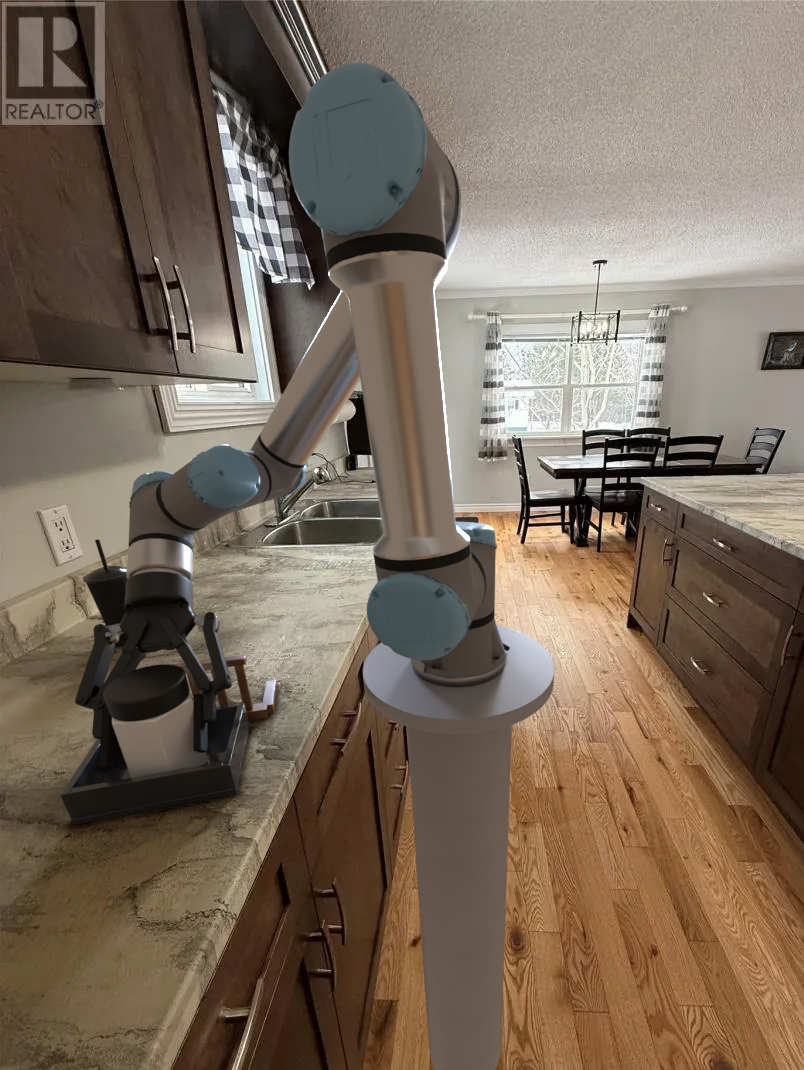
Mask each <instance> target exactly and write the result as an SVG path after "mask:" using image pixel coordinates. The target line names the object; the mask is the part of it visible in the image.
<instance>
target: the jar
mask: <svg viewBox="0 0 804 1070" xmlns="http://www.w3.org/2000/svg"><path fill="white" fill-rule="evenodd" d="M103 696H104V699H105V705H106V708H108V711H109V713H110V716H111V717H112V725H113V728H114V731H115V734H116V737H117V739H118V742H119V745H120V748H121V751H122V754H123V756H124V759H125V762H126V765H127V768H128V770H129V773H130V776H131V778H133V777H138V776H144V775H150V774H155V773H161V772H166V771H172V770H178V769H183V768H189V767H194V766H200V765H204V764H206V763H207V762H208V758H207V754H206V752H205V753H199V752H196V751H194V701H193V699H192V695H191V688H190V684H189V680H188V677H187V673H185V671H184V670H183V669H182V668H181V667H179V666H176V665H172V664H168V663H167V664H166V663H161V664H153V665H147V666H144V667H139V668H136V670H133V671H131V672H128V673H126V674H124V675H122V676H120V677H118V678H117V679H115V680H114V681H112V682H111V683H110V684H109V685H108V686H107V687H106V688H105V690H104V693H103Z"/></svg>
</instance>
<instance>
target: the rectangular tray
mask: <svg viewBox="0 0 804 1070" xmlns="http://www.w3.org/2000/svg"><path fill="white" fill-rule="evenodd" d="M250 730H251V726H250V721H248V716H247V712H246V707H245V703H244V702H243V703H242V702H237V703H231V704H230V703H229V705H224V706H219V705H216V719H215V721H213V722H207V734H208V752H206V754H207V758H208V762H207V763H206V764H204V765H200V766H194V767H189V768H183V769H178V770H172V771H166V772H161V773H155V774H150V775H144V776H138V777H133V778H131V776H130V773H129V770H128V768H127V765H126V762H125V759H124V756H123V754H122V751H121V748H120V745H119V752H118V767H117V768H111V769H109V768H103V767H98V765H99V751H100V739H97V738H96V740H95V741H94V743H93V744H92V746H91V747H90V749H89V751H87V754H86V755H85V756H84V758H83V760H82V761H81V762H80V764H79V766H78V767H77V769H76V770H75V772H74V774H73V775H72V776H71V778H70V780H69V781H68V783H66V786H65V787H64V788H63V790H62V791H61V793H60V798H61V800H62V803H63V804H64V807H65V808H66V811H67V813H68V816H69V818H70V820H71V823H72V825H73V826H77V825H82V824H86V823H87V824H88V823H92V822H97V821H103V820H107V819H114V818H119V817H124V816H128V815H133V814H139V813H143V812H149V811H155V810H158V809H164V808H165V809H166V808H170V807H174V806H180V805H184V804H189V803H195V802H196V803H197V802H200V801H206V800H210V799H211V800H212V799H216V798H220V797H227V796H232V795H237V794H238V790H239V784H240V780H241V775H242V770H243V765H244V760H245V755H246V750H247V746H248V745H247V744H248V741H249V735H250Z"/></svg>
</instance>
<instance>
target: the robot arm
mask: <svg viewBox="0 0 804 1070" xmlns="http://www.w3.org/2000/svg"><path fill="white" fill-rule="evenodd" d="M288 145H289V146H288V164H289V165H288V166H289V172H290V178H291V182H292V186H293V188H294V192H295V194H296V196H297V198H298V201H299V202H300V204H301V206H302V207H303V209H304V210H305V213H306V214H307V215H308V217H309V218H310V219H311V221H312V222H313V223H315V224H316V225H317V226H318V227H319V228H320V230H321V235H322V236H321V237H322V241H323V243H322V244H323V247H324V253H325V259H326V260H325V261H326V266H327V272H328V277H329V280H330V282H332V283H333V284H334V285H335V286H336V287H337V288H338V289H339V290H340V292H339V294H338V295H337V297H336V299H335V301H334V303H333V305H332V306H331V308H330V309H329V312H327V315H326V317H325V318H324V320H323V322H322V324H321V326H320V327H319V329H318V331H317V332H316V335H315V336H314V338H313V340H312V341H311V343H310V345H309V346H308V349H307V350H306V351H305V354H304V356H303V357H302V359H301V361H300V363H299V364H298V366H297V367H296V370H295V371H294V373H293V374H292V377H291V378H290V380H289V382H288V384H287V386H286V387H285V389H284V391H283V393H282V394H281V396H280V398H279V400H278V401H277V403H276V404H275V407H274V409H273V411H272V412H271V414H270V415H269V417H268V419H267V421H266V422H265V424H264V426H263V428H262V430H261V431H260V432H259V434H258V436H257V437H256V440H255V442H254V443H253V445H252V446H251V448H250V449H248V450H244V451H243V450H241V449H240V448H236V447H233V446H231V445H230V444H225V443H222V444H217V445H214V446H212V447H210V448H209V449H206V450H205V451H201V452H200V453H197V455H196V456H195V457H193V458H192V459H191V460H190V461H189V462H188V463H186V464H185V465H184V466H182V467H181V468H179V469H178V470H177V471H175V472H174V473H173V472H169V471H164V470H156V471H155V470H154V471H153V472H151V473H149V472H145V473H142V474H140V475H139V476H138V477H136V478H135V480H134V482H133V484H132V490H131V495H130V497H129V504H128V505H129V506H128V507H129V521H128V522H129V524H128V551H127V560H126V567H127V572H126V576H127V579H128V581H127V582H126V593H125V615H124V617H123V619H122V620H121V622H120V623H119V624H115V625H110V626H106V625H105V624H103V623H98V624H95V625H94V627H93V642H94V643H93V645H92V648H91V652H90V654H89V657H88V661H87V663H86V666H85V669H84V672H83V675H82V678H81V681H80V684H79V687H78V690H77V692H76V696H75V699H74V703H75V704H76V705H77V706H80V707H82V708H85V709H89V710H92V711H93V717H92V731H91V734H92V737H93V739H96V740H97V739H100V751H99V765H98V767H103V768H109V769H111V768H117V767H118V752H119V742H118V739H117V737H116V734H115V731H114V728H113V725H112V717H111V716H110V713H109V711H108V708H106V705H105V699H104V696H103V693H104V690H105V688H106V687H107V686H108V685H109V684H110V683H111V682H112V681H114V680H115V679H117V678H118V677H120V676H122V675H124V674H126V673H128V672H131V671H133V670H136V669H138V666H139V665H140V663H141V662H142V661H143V660H145V658H146V656H147V655H148V654H150V653H157V652H159V651H162V650H163V651H174V650H176V652H177V653H178V655H179V656H180V658H181V660H182V661H183V663H185V664H186V666H187V668H188V670H189V671H190V673H191V675H192V676H193V678H194V680H195V681H196V683H197V685H198V686H199V688H200V690H201V691H202V694H194V699H193V706H194V751H196V752H199V753H205V752H208V734H207V722H213V721H215V719H216V707H217V694H218V693H219V692H220V691H222V690H224V689H225V690H229V689H231V688H232V686H233V682H232V679H231V678H232V677H231V675H230V671H229V667H227V664H226V660H225V657H226V656H225V654H224V651H223V646H222V643H221V640H220V636H219V632H220V624H221V621H220V619H219V618H218V617H217V616H216V614H215V613H214V612H213V611H208V612H206V613H205V614H195V612H194V584H193V579H194V535H195V533H197V532H199V531H201V530H202V529H204V528H207V527H208V526H209V525H210V524H213V523H214V522H216V521H218V520H219V519H221V518H223V517H224V516H225V517H226V516H227V515H229V514H231V513H232V514H233V513H235V512H238V511H241V510H244V509H247V508H251V507H253V506H257V505H259V504H262V503H265V502H269V501H273V500H275V499H280V498H285V497H288V496H290V495H291V494H293V493H294V492H296V491H298V490H300V489H301V488H302V487H303V485H304V484H305V482H306V480H307V469H308V468H307V463H308V462H309V460H310V458H311V457H312V455H313V454H314V452H315V450H316V449H317V448H318V446H319V445H320V443H321V441H322V440H323V438H324V437H325V435H326V434H327V433H328V431H329V429H330V428H331V427H332V425H333V424H334V421H335V420H336V419H337V417H338V416H339V414H340V413H341V411H342V409H343V408H344V406H346V404H347V402H348V400H349V399H350V397H351V396H352V394H353V393H354V391H355V389H356V388H357V386H358V385H359V383H360V386H361V391H362V400H363V406H364V413H365V418H366V426H367V433H368V440H369V446H370V447H369V448H370V453H371V460H372V466H373V472H374V473H373V475H374V480H375V485H376V486H375V487H376V493H377V500H378V507H379V515H380V520H381V521H380V522H381V527H382V528H381V529H382V535H381V537H380V538H378V540H377V542H376V543H375V544H374V546H373V547H372V554H373V560H374V567H375V573H376V580H377V582H376V583H375V585H374V586H373V588H372V589H371V591H370V593H369V596H368V599H367V602H366V616H367V621H368V624H369V626H370V628H371V630H372V632H373V634H374V635H375V637H376V638H377V639H378V640H379V642H380V643H381V642H382V643H383V644H384V645H387V646H389V647H390V648H391V649H392V650H393V652H395V653H397V654H399V655H401V656H404V657H406V658H410V659H411V662H410V663H411V666H412V669H413V671H414V672H415V674H416V675H417V676H419V677H420V678H421V679H423V680H425V681H427V682H429V683H432V684H436V685H440V686H446V687H469V686H475V685H479V684H483V683H486V682H488V681H490V680H492V679H494V678H496V677H497V676H498V675H499V674H500V673H501V672H502V671H503V669H504V667H505V650H506V651H509V649H510V647H509V646H507V645H505V644H504V643H502V640H501V637H500V634H499V631H498V628H497V625H498V624H497V622H496V619H495V616H496V615H495V614H496V613H495V612H496V611H495V607H496V603H495V602H496V555H497V554H496V552H497V548H498V545H497V538H496V532H495V529H494V528H493V527H492V526H491V525H488V524H485V523H481V522H471V521H456V520H457V519H456V511H455V510H456V509H455V501H454V489H453V479H452V478H453V477H452V468H451V457H450V445H449V435H448V434H449V433H448V423H447V414H446V403H445V392H444V381H443V372H442V371H443V370H442V359H441V349H440V339H439V327H438V316H437V306H436V295H435V289H436V287H437V285H438V284H439V283H440V281H441V280H442V278H443V276H444V275H445V274H446V272H447V271H448V267H449V266H448V262H449V260H450V258H451V256H452V254H453V251H454V249H455V247H456V245H457V242H458V238H459V234H460V232H461V226H462V222H463V195H462V190H461V186H460V182H459V178H458V175H457V173H456V170H455V167H454V166H453V164H452V162H451V161H450V159H449V157H448V156H447V155H446V153H445V152H444V150H443V148H442V147H441V146H440V144H439V143H438V141H437V139H436V137H435V136H434V135H433V133H432V131H431V130H430V128H429V126H428V125H427V123H426V121H425V119H424V114H423V113H422V111H421V108H420V106H419V105H418V103H417V101H416V99H415V98H414V97H413V96H412V95H411V94H410V93H409V91H407V89H405V88H403V86H402V85H401V84H400V82H398V81H397V79H396V78H395V77H393V76H392V74H390V73H388V72H387V71H386V70H384V69H382V68H380V67H378V66H376V65H373V64H370V63H365V62H350V63H346V64H342V65H339V66H337V67H335V68H332V69H331V70H329V71H328V72H326V73H325V74H324V75H322V76H321V77H320V78H319V79H317V81H316V82H315V83H314V84H313V85H312V86H311V87H310V89H309V90H308V91H307V93H306V94H305V100H304V101H303V104H302V106H301V108H300V110H297V111H296V114H295V117H294V120H293V123H292V127H291V131H290V136H289V144H288ZM196 626H198V629H199V630H200V631H201V632H202V633H203V637H204V640H205V644H206V648H207V652H208V656H209V659H211V663H212V667H213V670H214V674H215V678H216V679H215V680H213V679H212V680H211V678H210V676H209V675H208V673H207V672H206V671H207V670H204V668H203V667H202V665H201V663H200V662H199V661H200V660H199V658H198V657H197V655H196V654H195V651H194V649H193V647H192V646H191V645H190V643H189V640H188V639H187V637H188V636H189V635H190V633H191V632H192V631H193V629H194V628H195V627H196ZM122 633H124V634H125V635H126V636H127V637H128V639H127V641H126V643H125V644H124V646H122V650H121V654H120V655H119V657H118V659H117V661H116V662H115V664H114V665H113V667H112V669H111V671H110V672H109V674H108V671H109V668H110V665H111V662H112V659H113V655H114V652H115V648H116V645H115V643H117V642H118V641H119V636H120V635H121V634H122ZM107 675H108V676H107Z"/></svg>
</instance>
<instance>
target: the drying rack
mask: <svg viewBox="0 0 804 1070" xmlns="http://www.w3.org/2000/svg"><path fill="white" fill-rule="evenodd" d="M224 657H225V660H226V664H227V667H228V668H232V667H234V671H235V676H236V681H237V685H238V689H239V693H240V698H241V703H243V702H244V703H245V707H246V712H247V716H248V721H249V722H252V721H258V720H263V719H268V718H269V715H270V714H274V713H275V707H276V701H277V692H278V685H277V680H276V679H272V680H271V679H270V680H266V681H265V685H264V690H263V696H262V701H261V702H257V703H256V702H255V703H253V702H252V696H251V692H250V687H249V684H248V683H249V682H248V678H247V674H246V669H245V665H246V664H247V661H248V659H247V655H246V654H241V655H239V654H238V655H232V656H224ZM199 662H200V663H201V665H202V667H203V668H204V670H205V671H209V670H210V674H211V678H212V681H213V680H215V679H216V678H215V674H214V670H213V667H212V663H211V659H210V658H209V659H203V660H199ZM171 665H176V666H179V667H181V668H182V669H183V670H184V671H185V674H186V677H187V681H188V685H189V688H190V693H191V696H192V698H193V699H192V700H194V694H202V691H201V690H200V688H199V686H198V685H197V683H196V681H195V680H194V678H193V676H192V675H191V673H190V671H189V670H188V668H187V666H186V664H185V663H184V662H179V663H173V664H171ZM216 699H217V702H218V706H224V705H230V702H229V698H228V695H227V689H224V690H222V691H220V692H219V693H218V694H217V695H216Z"/></svg>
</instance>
